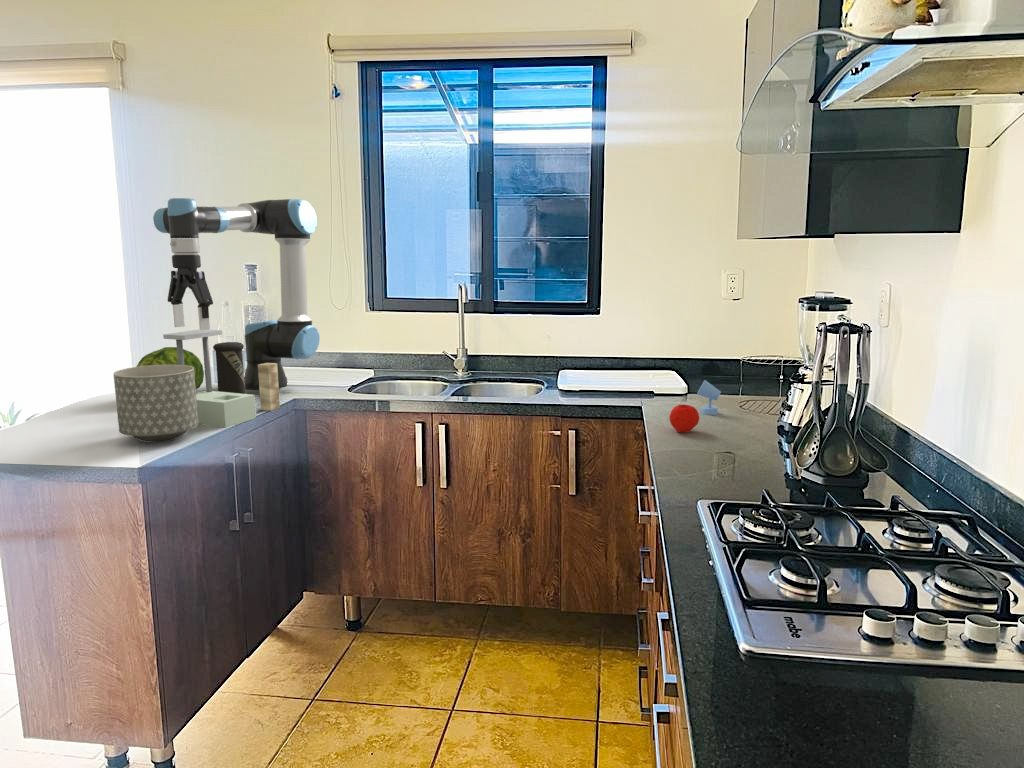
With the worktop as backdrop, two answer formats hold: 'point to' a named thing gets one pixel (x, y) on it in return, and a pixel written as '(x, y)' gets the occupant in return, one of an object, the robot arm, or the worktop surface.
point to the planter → (156, 401)
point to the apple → (684, 418)
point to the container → (230, 367)
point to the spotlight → (710, 393)
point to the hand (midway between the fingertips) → (192, 328)
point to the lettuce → (174, 361)
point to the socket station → (215, 404)
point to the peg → (268, 386)
